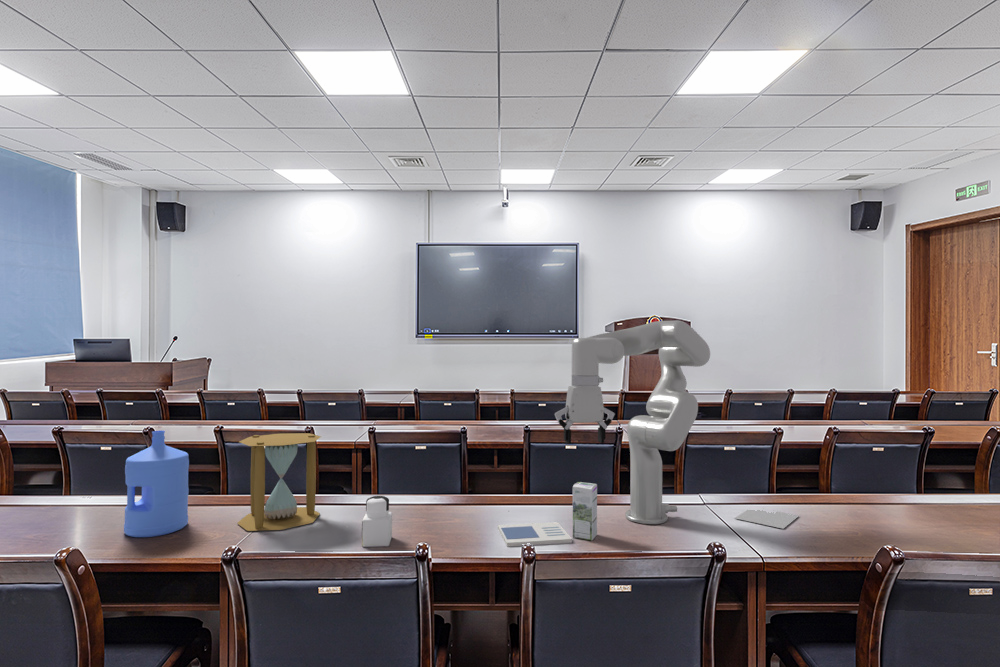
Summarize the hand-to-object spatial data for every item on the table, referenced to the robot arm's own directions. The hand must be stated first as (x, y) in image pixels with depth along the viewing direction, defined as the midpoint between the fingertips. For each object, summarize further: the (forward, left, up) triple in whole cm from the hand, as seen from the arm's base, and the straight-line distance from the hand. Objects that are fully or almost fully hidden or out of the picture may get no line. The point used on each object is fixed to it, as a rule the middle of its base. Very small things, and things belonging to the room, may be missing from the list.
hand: (584, 442), depth 152 cm
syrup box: (0, 0, -26) cm, 26 cm away
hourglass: (+87, -29, -26) cm, 95 cm away
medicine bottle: (+57, -5, -26) cm, 63 cm away
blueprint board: (+14, -3, -26) cm, 30 cm away
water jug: (+120, -26, -26) cm, 125 cm away
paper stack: (-61, 0, -27) cm, 67 cm away
